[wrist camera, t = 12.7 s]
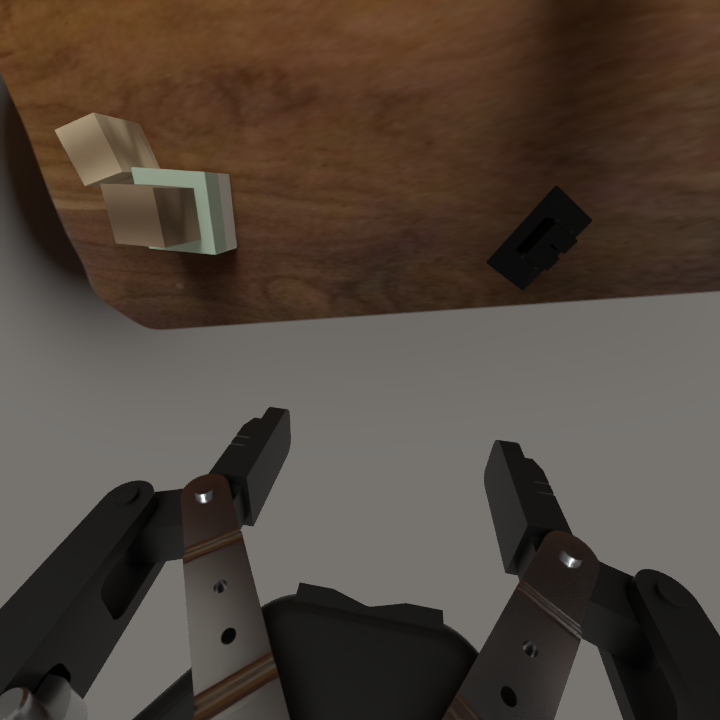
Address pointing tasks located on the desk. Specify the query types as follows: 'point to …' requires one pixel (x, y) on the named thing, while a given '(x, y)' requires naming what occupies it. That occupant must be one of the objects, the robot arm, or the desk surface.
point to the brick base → (200, 206)
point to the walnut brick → (152, 214)
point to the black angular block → (540, 239)
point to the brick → (106, 149)
